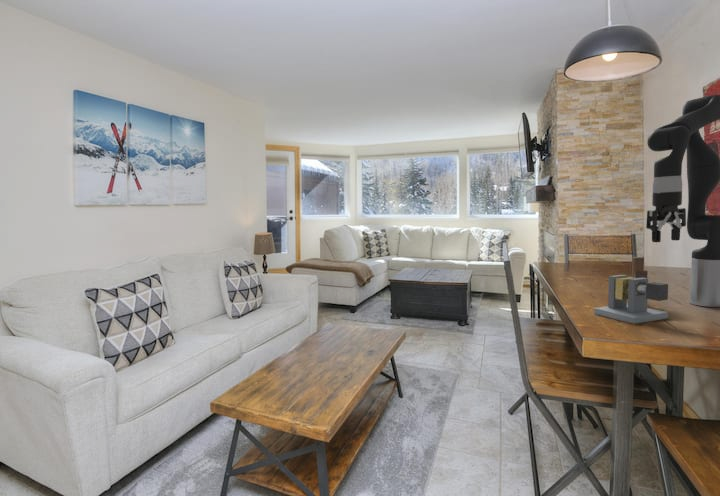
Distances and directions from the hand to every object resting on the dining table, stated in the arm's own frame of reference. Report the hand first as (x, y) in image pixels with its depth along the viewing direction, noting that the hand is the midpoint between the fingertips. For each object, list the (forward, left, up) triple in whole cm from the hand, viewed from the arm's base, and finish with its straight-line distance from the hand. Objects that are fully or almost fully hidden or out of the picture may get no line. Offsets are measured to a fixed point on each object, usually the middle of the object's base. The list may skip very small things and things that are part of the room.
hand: (665, 241), depth 128 cm
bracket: (+7, -6, -26) cm, 27 cm away
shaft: (+7, -4, -18) cm, 20 cm away
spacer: (+7, -8, -16) cm, 19 cm away
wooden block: (-9, -15, -26) cm, 31 cm away
